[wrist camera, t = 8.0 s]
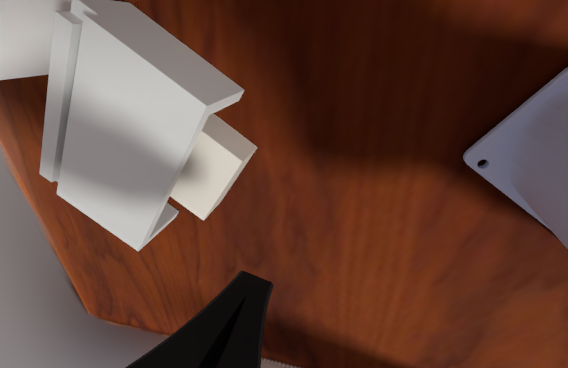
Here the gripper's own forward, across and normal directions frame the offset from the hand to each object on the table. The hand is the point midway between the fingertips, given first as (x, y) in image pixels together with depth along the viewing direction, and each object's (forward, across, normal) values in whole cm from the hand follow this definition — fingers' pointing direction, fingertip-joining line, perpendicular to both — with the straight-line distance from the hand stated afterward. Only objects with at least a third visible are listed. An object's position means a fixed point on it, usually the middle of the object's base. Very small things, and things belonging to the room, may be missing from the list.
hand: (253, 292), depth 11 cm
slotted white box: (+9, +11, 0) cm, 15 cm away
